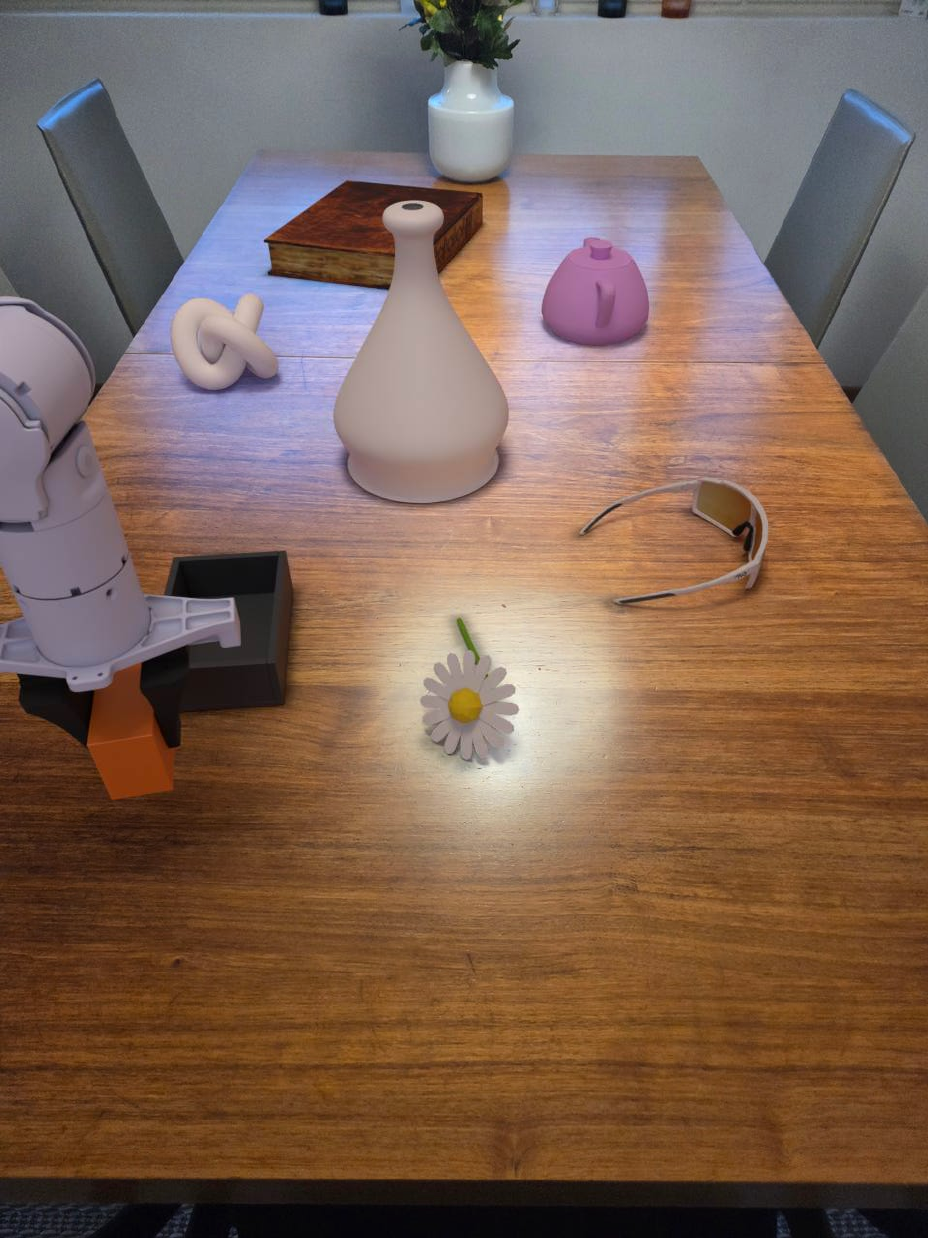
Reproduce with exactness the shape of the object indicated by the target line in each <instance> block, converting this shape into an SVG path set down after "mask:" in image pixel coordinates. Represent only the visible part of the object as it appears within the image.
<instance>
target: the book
mask: <svg viewBox="0 0 928 1238" xmlns="http://www.w3.org/2000/svg"><path fill="white" fill-rule="evenodd" d="M403 201H425V202H429V203H432V204H435V205H436V206H438V207H439V208H440V209H441V210H442V212H443V216H444V220H443V224H442V226H441V227H440V229H439V230H437V231H436V233H435V234H434V239H433V247H434V256H435V263H436V268H437V273H438V274H439V273H440V272H441V271H442V270H443V269H444V268H445V267H446V265H448V263H449V262H450V261H451V260H452V259H453V257H455V256H456V254H457V253H458V252H459V251H460V250H461V249H462V248H463V246H465V244H467V243H468V241H469V240H470V239H471V238H472V237H473V235H474V234H475V233H476V232H477V231H478V230H479V229H480V228H481V227H482V226H483V218H484V217H483V214H484V213H483V212H484V196H483V193H482V192H479V191H478V192H477V191H466V190H455V189H447V188H436V187H425V186H414V185H402V184H392V183H381V182H371V181H370V182H369V181H362V180H361V181H360V180H351V179H350V180H349V179H346V180H345V181H343V182H342V183H340V184H339V185H338V186H337V187H335V188H334V189H333V190H331V191H330V192H328V193H327V194H326V195H324V196H323V197H321V198H320V199H318V200H317V201H315V202H314V203H313V204H311V205H310V206H308V207H307V208H306V209H305V210H303V211H301V212H300V213H299V214H297V215H296V216H295V217H294V218H291V220H289V221H288V222H287V223H285V224H284V225H282V226H281V227H279V228H278V229H277V230H275V231H274V232H272V233H270V234H269V235H268V236H267V237H265V238H264V239H263V243H266V244H267V246H268V254H269V258H270V266H271V269H270V270H269V271H267V276H273V277H281V278H282V277H283V278H288V279H289V278H290V279H298V280H306V281H314V282H323V283H330V284H339V285H346V286H354V287H363V288H370V289H371V288H372V289H378V290H387V291H389V289H390V286H391V282H392V278H393V273H394V264H395V240H394V236H393V234H392V233H391V232H390V231H388V230H387V229H386V228H385V226H384V224H383V219H382V218H383V213H384V211H385V209H386V208H388V207H389V206H391V205H393V204H395V203H398V202H403Z"/></svg>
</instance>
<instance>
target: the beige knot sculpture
mask: <svg viewBox="0 0 928 1238" xmlns="http://www.w3.org/2000/svg"><path fill="white" fill-rule="evenodd" d="M264 309H265V306H264V302H263V300H262V299H261V297H260V296H259V295H257V294H255V293H252V292H250V293H244V294H243V295H242V296H241V297H240V298H239V299H238V302H237V305H236V308H235V310H234V312H232V311H230V310H229V308H227V307H226V306H224V305H223V304H222V303H220V302H218V301H216V300H214V299H213V298H212V299H211V298H208V297H194V298H192V299H189V300H187V301H186V302H184V303H183V304H181V305H180V306H179V307H178V308H177V310H176V311H175V314H174V316H173V318H172V321H171V326H170V345H171V349H172V353H173V356H174V360H175V362H176V363H177V366H178V367H179V369H180V370H181V372H182V373H183V374H184V376H185V377H186V378H187V379H188V380H189V381H191V382H192V383H193V384H194V385H196V386H198V387H200V388H201V389H205V390H209V391H219V390H224V389H227V388H229V387H231V386H232V385H234V384H235V383H236V382H237V381H238V380H239V379H240V378H241V376H242V374H243V373H244V371H245V368H247V369H248V370H249V371H250V372H251V373H252V374H254V376H256V377H259V378H261V379H264V380H267V379H272V377H274V376H275V375H276V374H277V373H278V370H279V361H278V358H277V356H276V354H275V353H274V351H273V350H272V349H271V348H270V347H269V345H268V344H267V343H265V341H264V340H262V339H261V337H259V336H258V335H257V332H258V329H259V326H260V323H261V320H262V316H263V312H264Z"/></svg>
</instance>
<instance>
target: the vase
mask: <svg viewBox="0 0 928 1238" xmlns="http://www.w3.org/2000/svg"><path fill="white" fill-rule="evenodd" d="M382 219H383V224H384V226H385V228H386V229H387V230H388V231H390V232H391V233H392V234H393V236H394V240H395V264H394V273H393V278H392V282H391V286H390V289H389V290H388V292H387V295H386V297H385V299H384V302H383V304H382V306H381V308H380V311H379V312H378V314H377V316H376V318H375V320H374V323H373V324H372V326H371V328H370V330H369V332H368V335H367V336H366V338H365V340H364V342H363V344H362V345H361V347H360V349H359V351H358V353H357V354H356V356H355V358H354V360H353V361H352V364H351V365H350V368H349V369H348V371H347V373H346V375H345V377H344V380H343V382H342V383H341V385H340V388H339V390H338V392H337V396H336V398H335V401H334V406H333V414H332V415H333V416H332V417H333V425H334V429H335V432H336V434H337V436H338V439H339V441H340V442H341V443H342V445H343V446H344V448H345V449H346V451H347V452H348V453H349V456H348V458H347V469H348V472H349V475H350V477H351V478H352V479H353V481H354V482H355V483H356V484H357V485H358V486H359V487H361V488H362V489H363V490H365V491H367V492H368V493H370V494H372V495H374V496H378V497H380V498H383V499H386V500H391V501H395V502H402V503H410V504H429V503H430V504H431V503H439V502H446V501H450V500H451V501H452V500H454V499H458V498H462V497H464V496H467V495H470V494H472V493H473V492H475V491H478V490H479V489H480V488H482V487H483V486H485V485H486V484H488V482H489V481H491V479H492V478H493V477H494V476H495V475H496V472H497V471H498V468H499V463H500V462H499V461H500V458H499V453H498V451H497V447H498V446H499V444H500V442H501V441H502V439H503V438H504V435H505V433H506V431H507V427H508V424H509V416H510V415H509V414H510V411H509V410H510V409H509V403H508V399H507V397H506V394H505V391H504V389H503V387H502V385H501V383H500V381H499V380H498V378H497V376H496V374H495V372H494V371H493V369H492V367H491V366H490V364H489V362H487V360H486V358H485V356H484V355H483V353H482V352H481V350H480V349H479V347H478V346H477V344H476V342H475V341H474V339H473V338H472V336H471V334H470V333H469V332H468V330H467V328H466V327H465V325H464V323H463V321H462V320H461V319H460V317H459V315H458V314H457V311H455V309H454V307H453V306H452V303H451V302H450V300H449V297H448V296H447V294H446V292H445V290H444V287H443V285H442V282H441V280H440V276H439V273H437V268H436V263H435V256H434V247H433V239H434V234H435V233H436V231H437V230H439V229H440V227H441V226H442V224H443V220H444V216H443V212H442V210H441V209H440V208H439V207H438V206H436V205H435V204H432V203H429V202H425V201H403V202H398V203H395V204H393V205H391V206H389V207H388V208H386V209H385V211H384V213H383V218H382Z"/></svg>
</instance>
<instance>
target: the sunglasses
mask: <svg viewBox="0 0 928 1238" xmlns="http://www.w3.org/2000/svg"><path fill="white" fill-rule="evenodd" d="M686 491H687V492H688V491H693V494H692V501H691V502H692V503H691V511H692V512H693V513H694V514H695V515H697V516H699V517H701V518H702V519H704V520H706V521H707V522H708V523H711V524H713V525H714V526H716V527H718V528H719V529H720V530H722V531H724V532H725V533H727V534H728V535H730V536H731V537H732V538H737V537H740V536H742V535H743V534H745V533H746V532H747V534H746V536H745V540H744V544H743V548H742V549H743V550H744V551H745V552H747V553H748V556H747V559H748V562H747V563H746V564H743V565H742V566H740V567H738V568H737V569H736V568H735V570H732V571H730V572H729V573H728V572H727V573H726V574H725V575H722V576H720V577H717V578H714V579H712V580H709V581H706V582H703V583H700V584H696V585H692V586H688V587H680V588H673V589H667V590H662V591H657V592H650V593H645V594H639V595H633V596H627V597H626V596H625V597H619V598H615V599H613V600H612V601H613V602H614V603H615V604H618V605H627V604H634V603H635V604H636V603H641V602H642V603H643V602H647V601H648V602H649V601H654V600H661V599H666V598H673V597H681V596H689V595H693V594H696V593H697V592H701V591H704V590H706V589H710V588H713V587H715V586H719V585H723V584H728V583H733V582H738V581H740V580H741V579H743V578H745V577H746V576H748V575H749V577H748V580H747V583H746V585H745V586H744V588H745V589H751V588H752V587H753V585H754V584H755V582H756V580H757V577H758V575H759V572H760V570H761V568H762V565H763V563H764V559H765V553H766V548H767V546H768V541H769V533H770V532H769V530H770V525H769V524H770V523H769V520H768V515H767V513H766V510H765V508H764V507H763V505H762V503H761V502H760V500H759V499H758V498H757V497H756V495H754V494H753V493H752V492H750V491H749V490H748V489H746V488H744V487H743V486H742V485H740V484H737V483H735V482H734V481H731V480H728V479H718V478H714V477H708V476H703V477H700V478H697V479H691V480H685V481H684V480H683V481H678V482H672V483H668V484H665V485H661V486H658V487H654V488H650V489H646V490H643V491H640V492H638V493H635V494H632V495H629V496H625V497H623V498H620V499H618V500H616V501H614V502H612V503H611V504H609V505H607V506H606V507H605V508H604V509H602V510H601V511H600V512H599V513H597V514H596V515H594V517H593V518H591V520H590V521H589V522H588V523H586V525H584V526H583V527H582V529H580V531H579V532H578V534H579V535H581V536H582V535H583V536H584V535H585V534H586V533H587V532H588V531H590V529H591V528H592V527H593V526H595V525H596V524H597V523H598V522H599V521H600V520H602V519H603V518H604V517H606V516H607V515H608V514H609V513H611V512H613V511H615V510H617V509H618V508H620V507H623V506H625V505H628V504H633V503H635V502H637V501H640V500H641V499H644V498H646V497H650V496H653V495H657V494H664V493H665V494H667V493H672V494H679V493H682V492H686Z"/></svg>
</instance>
